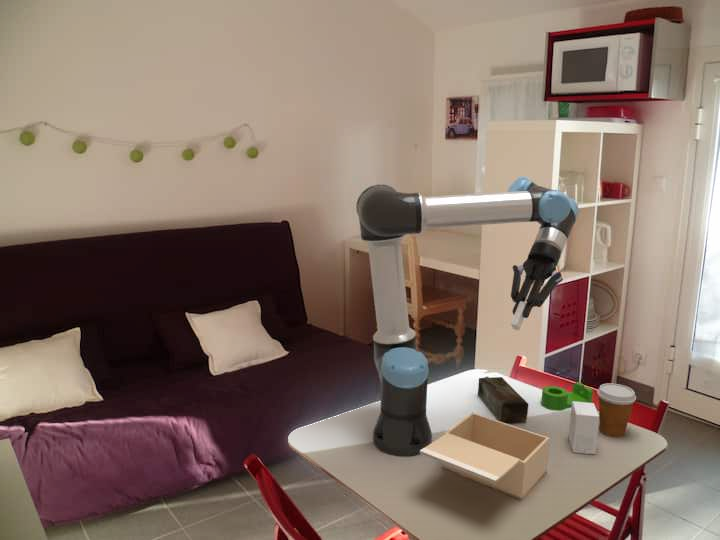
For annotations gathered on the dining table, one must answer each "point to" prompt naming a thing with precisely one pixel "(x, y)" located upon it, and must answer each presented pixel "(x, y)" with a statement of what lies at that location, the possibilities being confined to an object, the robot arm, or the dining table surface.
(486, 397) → the dark brown wooden block
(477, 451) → the light wood flat panel
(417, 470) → the dining table surface
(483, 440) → the light wood open box
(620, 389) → the disposable coffee cup
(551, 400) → the tape dispenser
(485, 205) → the robot arm
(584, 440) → the small box
